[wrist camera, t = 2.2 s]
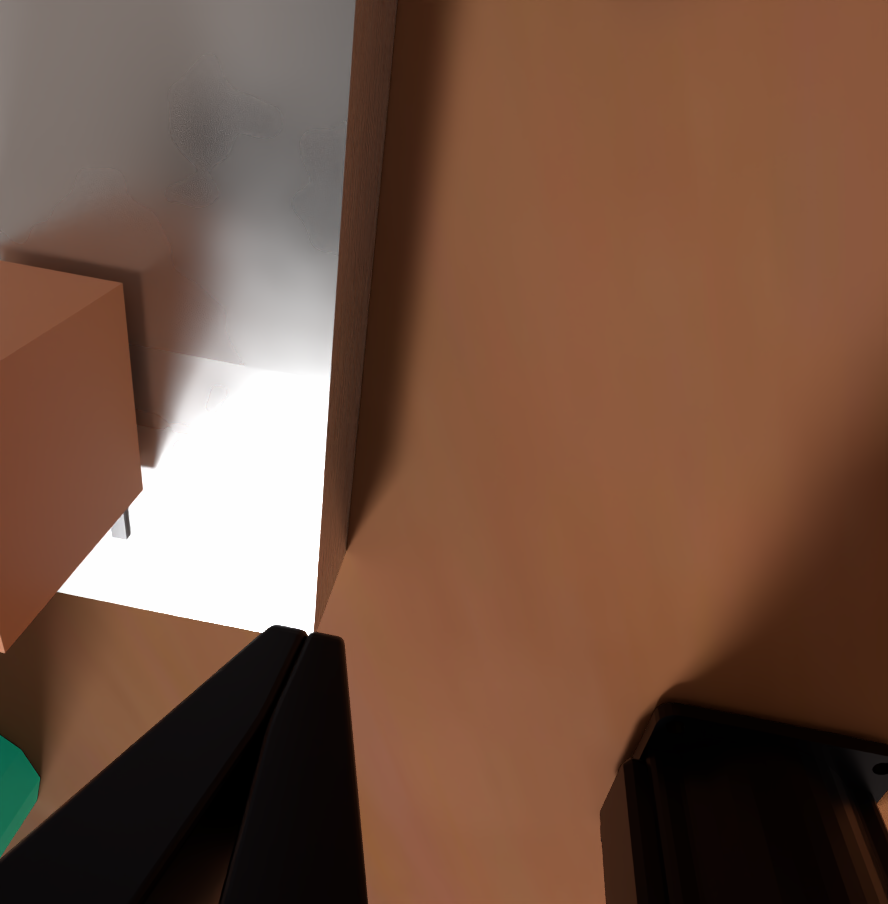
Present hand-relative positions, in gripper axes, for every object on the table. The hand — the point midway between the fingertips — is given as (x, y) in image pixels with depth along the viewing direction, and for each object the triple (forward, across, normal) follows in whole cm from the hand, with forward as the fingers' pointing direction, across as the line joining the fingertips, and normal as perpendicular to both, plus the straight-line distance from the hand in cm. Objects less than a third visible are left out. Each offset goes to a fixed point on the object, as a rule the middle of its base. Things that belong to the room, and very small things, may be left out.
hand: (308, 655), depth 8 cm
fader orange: (+8, +6, 0) cm, 10 cm away
